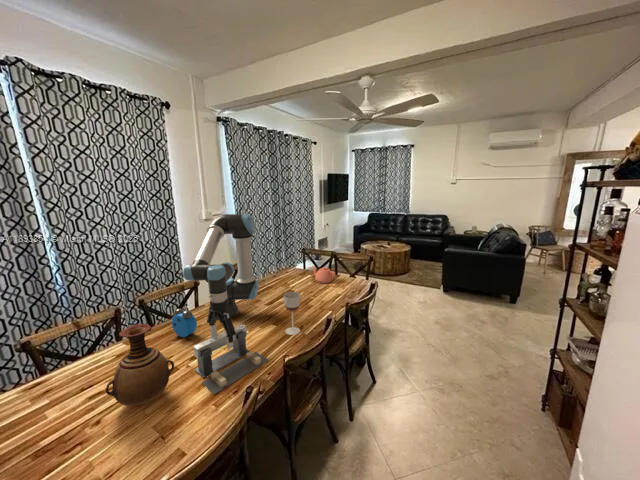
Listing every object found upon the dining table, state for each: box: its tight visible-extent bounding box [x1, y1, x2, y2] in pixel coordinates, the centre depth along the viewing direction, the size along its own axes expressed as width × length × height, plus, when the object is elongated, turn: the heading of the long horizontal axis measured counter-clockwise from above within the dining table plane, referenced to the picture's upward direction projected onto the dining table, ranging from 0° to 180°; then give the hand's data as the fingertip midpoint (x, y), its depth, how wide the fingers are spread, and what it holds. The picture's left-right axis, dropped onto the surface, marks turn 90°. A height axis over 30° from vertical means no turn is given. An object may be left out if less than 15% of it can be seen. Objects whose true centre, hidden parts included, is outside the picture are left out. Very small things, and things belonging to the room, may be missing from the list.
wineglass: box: [282, 291, 302, 336], centre depth 154 cm, size 9×10×22 cm
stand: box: [194, 332, 250, 379], centre depth 128 cm, size 8×24×12 cm, turn 140°
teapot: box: [312, 265, 336, 284], centre depth 233 cm, size 22×15×12 cm
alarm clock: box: [171, 308, 198, 338], centre depth 150 cm, size 13×6×15 cm, turn 65°
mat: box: [201, 351, 270, 395], centre depth 123 cm, size 10×28×1 cm, turn 140°
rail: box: [192, 323, 248, 359], centre depth 127 cm, size 25×4×4 cm, turn 140°
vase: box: [105, 323, 175, 407], centre depth 104 cm, size 21×18×30 cm
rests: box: [210, 350, 261, 388], centre depth 122 cm, size 8×20×3 cm, turn 140°
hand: (221, 342), depth 127 cm, fingers open, 13 cm apart
